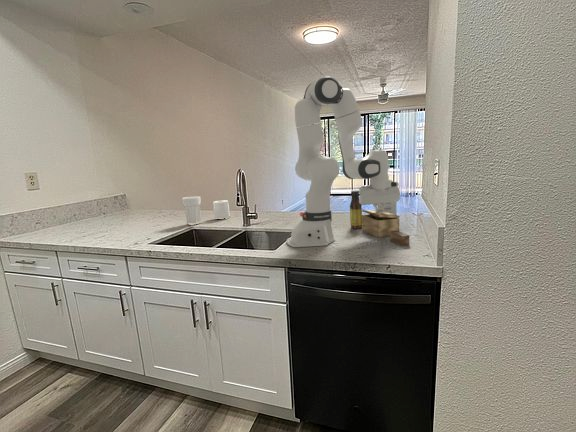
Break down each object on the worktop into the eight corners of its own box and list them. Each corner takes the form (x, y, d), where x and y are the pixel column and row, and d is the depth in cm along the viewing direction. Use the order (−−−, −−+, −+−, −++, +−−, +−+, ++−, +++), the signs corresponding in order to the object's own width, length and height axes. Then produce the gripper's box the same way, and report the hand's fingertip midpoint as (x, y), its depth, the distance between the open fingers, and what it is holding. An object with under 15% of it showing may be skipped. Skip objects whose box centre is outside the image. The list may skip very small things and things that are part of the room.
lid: (377, 216, 151) (377, 215, 151) (362, 211, 167) (362, 209, 167) (399, 217, 153) (399, 215, 153) (382, 212, 169) (382, 210, 169)
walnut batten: (402, 246, 137) (402, 236, 137) (390, 240, 147) (390, 231, 146) (409, 245, 138) (409, 235, 137) (396, 239, 148) (396, 230, 147)
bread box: (377, 237, 153) (377, 220, 151) (362, 229, 169) (362, 214, 167) (399, 234, 155) (399, 218, 153) (382, 227, 171) (382, 212, 169)
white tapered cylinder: (214, 218, 228) (212, 200, 226) (229, 216, 230) (227, 199, 228) (214, 220, 218) (212, 202, 216) (230, 219, 221) (228, 201, 218)
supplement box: (396, 227, 170) (396, 195, 166) (378, 227, 172) (378, 195, 168) (394, 223, 179) (394, 192, 176) (377, 223, 181) (377, 193, 178)
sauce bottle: (355, 225, 180) (354, 189, 176) (364, 227, 175) (364, 190, 171) (347, 227, 175) (346, 191, 172) (357, 229, 171) (356, 191, 167)
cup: (181, 225, 209) (178, 198, 206) (194, 221, 219) (191, 196, 216) (193, 226, 203) (190, 198, 200) (207, 222, 213) (204, 196, 210)
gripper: (361, 186, 152) (362, 215, 155) (401, 182, 156) (401, 211, 159) (356, 185, 158) (357, 213, 161) (394, 181, 162) (395, 209, 165)
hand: (379, 212), depth 160 cm, fingers closed
